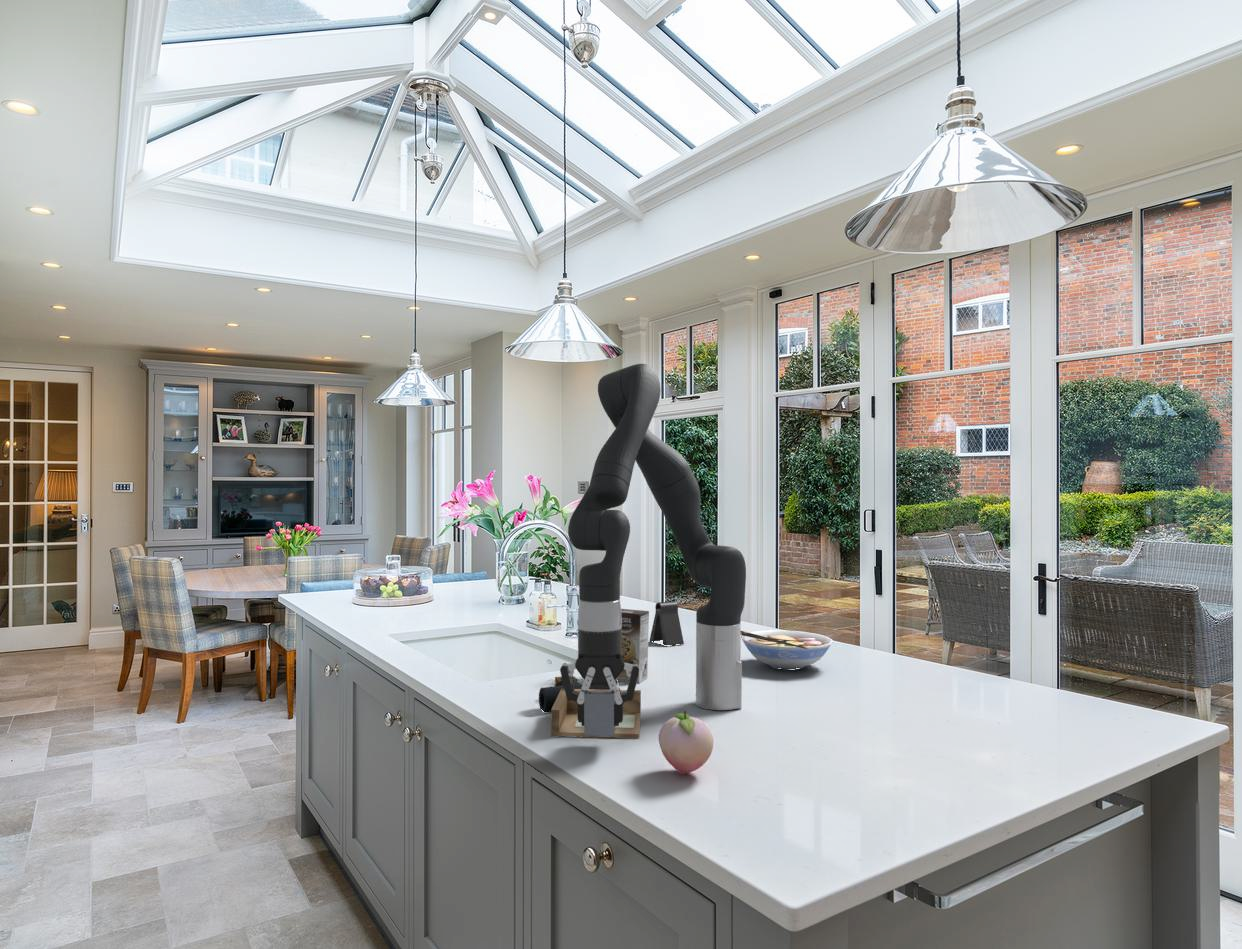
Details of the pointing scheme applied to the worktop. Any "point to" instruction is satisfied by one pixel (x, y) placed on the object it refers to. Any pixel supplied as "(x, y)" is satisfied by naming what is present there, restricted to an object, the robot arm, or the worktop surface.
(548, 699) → the pipe connector
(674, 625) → the dark folding stand
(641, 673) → the coffee box
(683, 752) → the decorative fruit
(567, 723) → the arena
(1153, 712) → the worktop surface
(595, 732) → the angle bracket
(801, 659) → the ramen bowl
